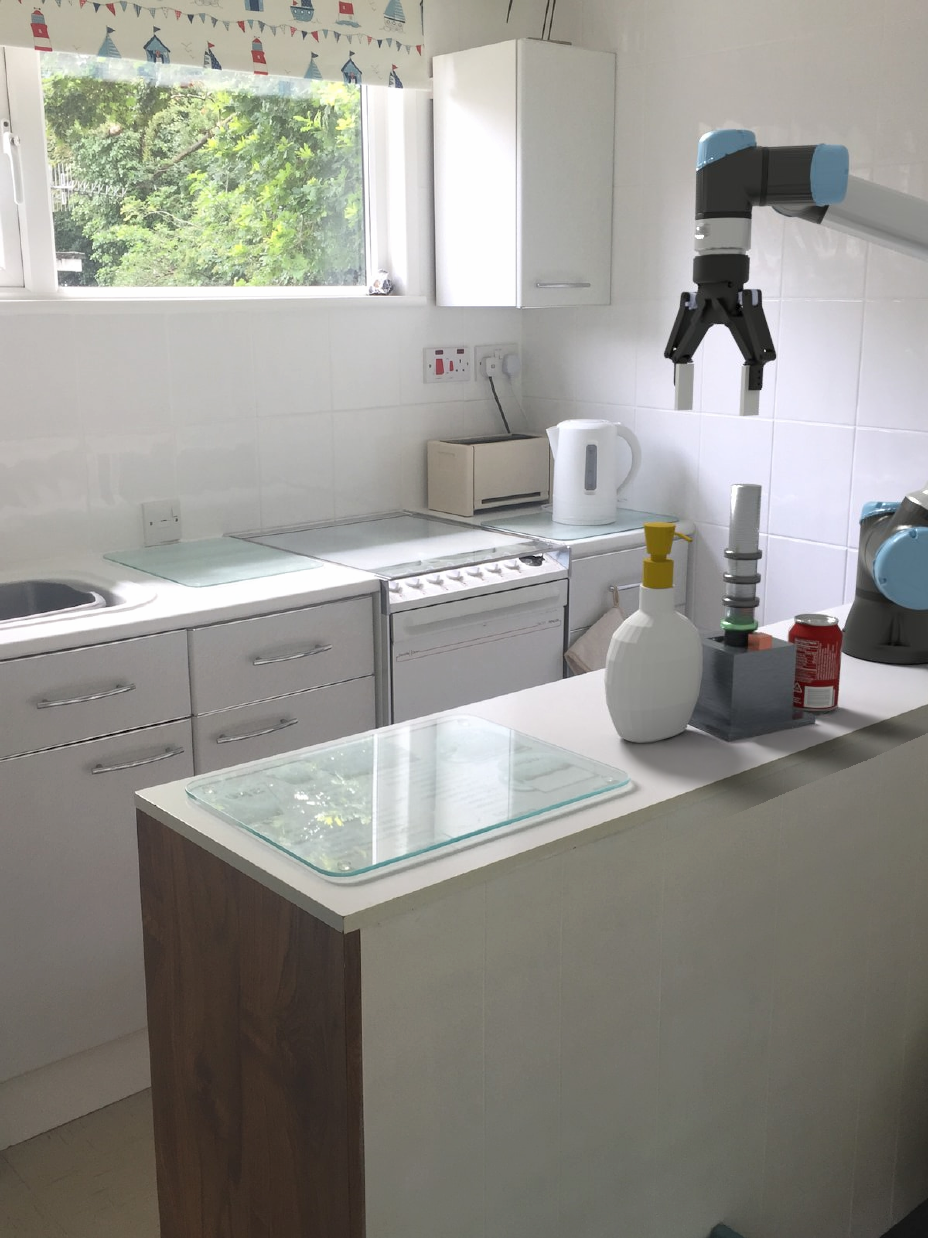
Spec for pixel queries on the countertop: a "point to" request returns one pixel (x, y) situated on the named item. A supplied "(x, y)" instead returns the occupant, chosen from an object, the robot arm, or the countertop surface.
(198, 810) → the countertop surface
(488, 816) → the countertop surface
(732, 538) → the column
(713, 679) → the sleeve
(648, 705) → the soap bottle
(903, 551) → the robot arm
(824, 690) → the soda can
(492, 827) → the countertop surface
